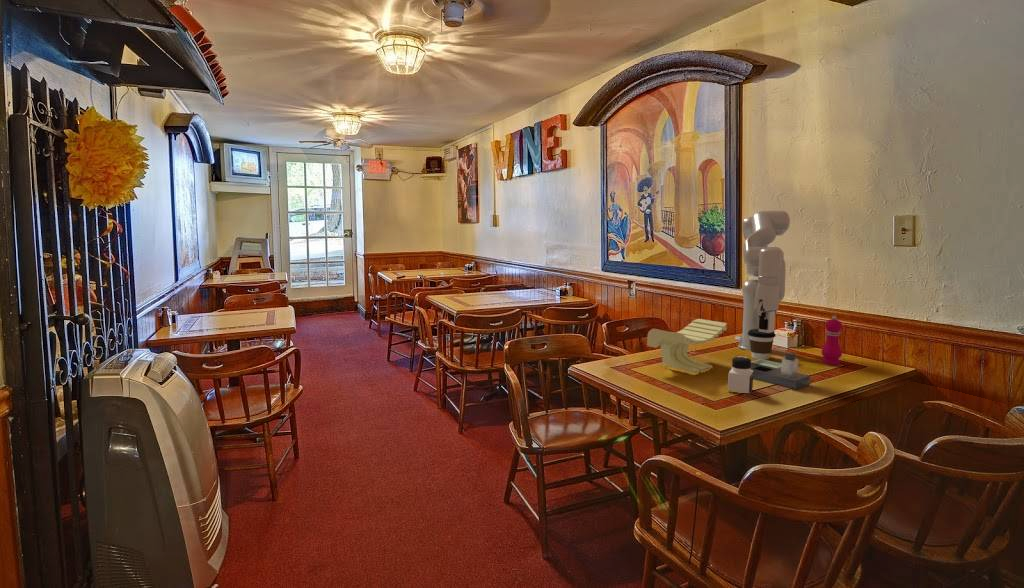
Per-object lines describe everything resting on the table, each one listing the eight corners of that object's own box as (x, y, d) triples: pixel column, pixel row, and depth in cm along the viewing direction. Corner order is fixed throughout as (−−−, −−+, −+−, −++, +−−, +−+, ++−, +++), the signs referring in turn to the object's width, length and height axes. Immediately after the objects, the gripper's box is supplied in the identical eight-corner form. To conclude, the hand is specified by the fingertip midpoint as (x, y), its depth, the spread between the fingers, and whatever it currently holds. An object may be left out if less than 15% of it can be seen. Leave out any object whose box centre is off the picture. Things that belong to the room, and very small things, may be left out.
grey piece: (733, 375, 212) (734, 346, 210) (747, 370, 217) (748, 342, 216) (795, 390, 192) (797, 358, 191) (809, 384, 198) (811, 354, 197)
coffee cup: (743, 355, 240) (745, 328, 239) (770, 356, 238) (772, 329, 236) (749, 361, 230) (750, 333, 228) (777, 362, 228) (778, 334, 226)
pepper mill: (835, 361, 228) (839, 314, 225) (844, 366, 221) (848, 317, 218) (817, 361, 229) (820, 314, 226) (825, 365, 222) (829, 317, 219)
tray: (744, 367, 221) (744, 363, 221) (759, 363, 227) (759, 358, 227) (771, 374, 212) (771, 369, 212) (786, 368, 219) (786, 364, 218)
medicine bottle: (749, 395, 188) (751, 361, 187) (727, 392, 192) (728, 358, 190) (752, 389, 194) (754, 356, 193) (731, 386, 198) (732, 354, 196)
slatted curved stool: (691, 358, 237) (692, 317, 234) (725, 365, 224) (726, 323, 222) (646, 370, 219) (647, 327, 216) (680, 380, 206) (681, 334, 204)
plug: (758, 331, 210) (759, 305, 209) (764, 330, 213) (765, 304, 211) (768, 332, 207) (770, 306, 206) (774, 331, 209) (775, 305, 208)
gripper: (770, 278, 215) (768, 324, 218) (747, 281, 205) (745, 329, 208) (789, 280, 209) (787, 327, 212) (766, 283, 199) (764, 332, 202)
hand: (766, 328), depth 210 cm, fingers closed on plug, 4 cm apart
